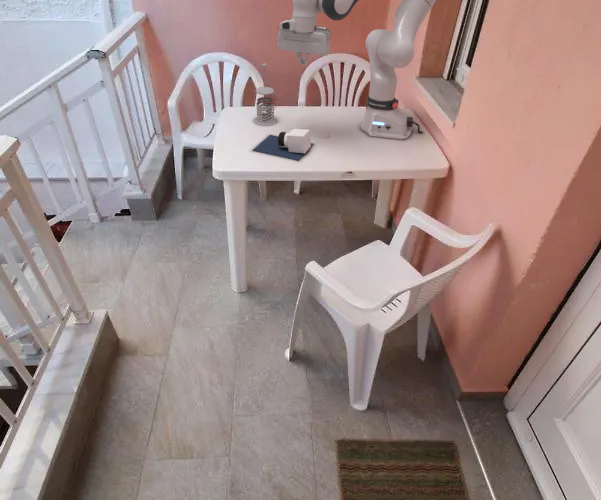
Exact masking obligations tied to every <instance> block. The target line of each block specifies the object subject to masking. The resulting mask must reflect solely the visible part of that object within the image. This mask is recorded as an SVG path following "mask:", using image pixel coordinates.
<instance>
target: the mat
mask: <svg viewBox="0 0 601 500" xmlns="http://www.w3.org/2000/svg"><path fill="white" fill-rule="evenodd" d="M278 136H279V135H278ZM278 136H277V135H274V134H269V135H268V136H267V137H266V138H265V139H263V140H262V141H261V142H260V143H259V144H258V145H256V147H254V148H253V149H252V151H253V152H257V153H261V154H267V155H270V156H276V157H280V158H284V159H288V160H294V161H297V162H299V161H300V160H301V159H302V158H303V157H304V156H305V154H306V153H307V152H308V151H309V150H310V149H311V148H312V147H313V146H314V143H312V142H311V147H310V148H309V149H308V150H307V151H306V152H305V153H294V152H289V151H288V148H282V147H280V146H279V145H278Z"/></svg>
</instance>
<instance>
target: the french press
mask: <svg viewBox="0 0 601 500" xmlns="http://www.w3.org/2000/svg"><path fill="white" fill-rule="evenodd" d="M261 67H262V68H263V79H264V80H263V81H264V84H263V85H264V86H259V87H258V88H256V89H255V93H256V94H258V95H261V96H262V97H261V96H260V97H258V98H257V99H256V101H257V102H256V118H255V120H254V123H255V124H257V125H260V126H273V125H274V124H276V123H277V120H276V119H275V109H276V108H277V107H278V105H279V102H277V101H275V103H274V99H273V98H272V97H273V96H275V97H276V98H279V96H278V95H279V94H277V93H276V92H275V90H274V89H273V88H272V87H270V86H266V72H265V71H266V70H265V69H266V67H267V64H266V62H265V63H262V64H261ZM269 95H270V96H272V97H268V96H269ZM276 103H277V104H276Z"/></svg>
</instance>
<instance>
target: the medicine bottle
mask: <svg viewBox="0 0 601 500" xmlns="http://www.w3.org/2000/svg"><path fill="white" fill-rule="evenodd" d="M311 141H312V140H311V131H310V129H308V128H307V129H306V128H293V129H291V130H290V131H289V132H287V131H280V132H279V133H278V145H279V146H280V147H282V148H288V151H289V152H294V153H305V152H306V151H307V150H308V149H309V148H310V147H311V143H312V142H311ZM311 148H312V147H311ZM311 148H310V149H311ZM310 149H309V150H310ZM309 150H308V151H309ZM308 151H307V152H308ZM307 152H306V153H307ZM306 153H305V154H306Z"/></svg>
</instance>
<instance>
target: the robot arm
mask: <svg viewBox="0 0 601 500" xmlns="http://www.w3.org/2000/svg"><path fill="white" fill-rule="evenodd" d="M436 1H437V0H401V1H400V3H399V5H398V6H397V8H396V9H395V14H394V16H395V21H394V25H393V28H392V30H391V31H389V30H387V29H384V28H382V29H381V28H380V29H379V28H378V29H372V31H370V33H369V34H368V35H367V36H366V38H365V44H364V47H365V49H366V51H367V55H368V60H369V71H370V80H369V88H368V95H367V96H366V101H365V112H364V117H363V119H362V122H361V124H360V129H361V130H362V131H363V132H365V133H367V134H368V136H369V137H375V138H376V137H377V138H386V139H395V140H406V139H408V138H409V137H410V136H411V135H412V128H413V125H415V126H417V132H418V134H423V130H420V129H421V126H420V124H419V123H418V122H415V121H414V117H413V116H407V115H406V114H405V113H404V112H403V111H402V110H401V109H400V108H399V107H398V106H399V98H398V99H397V98H396V92H397V84H398V76H397V74H396V70H395V68H397V69H402V68H403V69H404V68H406V67H408V65H410V63H411V62H412V60H413V59H414V55H415V40H416V37H417V34H418V31H419V29H420V27H421V25H422V24H423V22H424V21H425V19H426V18H427V16H428V14H429V13H430V11H431V9H432V8H433V6H434V5H435V3H436ZM358 2H359V0H292V7H293V10H292V15H291V18H289V19H285V20H283V21H281V22H280V23H279V29H280V30H279V31H278V34H277V48H278V50H280V51H281V50H282V51H288V52H295V56H296V57H297V59H298V65H300V66H307V65H308V60H309V58H310V57H311V55H316V56H317V55H318V56H323V57H325V56H327V55H329V53H330V52H331V42H330V41H331V37H332V32H331V30H330V29H329V28H328V27H327V26H319V25H317V18H318V17H317V15H318V13H322V14H324V15H325V16H327V17H328V18H329V19H330V20H332V21H341V20H343V19H346V17H347V16H349V15H350V13H351V12H352V10H353V8H354V6H355V5H356V4H357V3H358ZM302 54H304V56H305V58H303V57H302Z"/></svg>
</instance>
